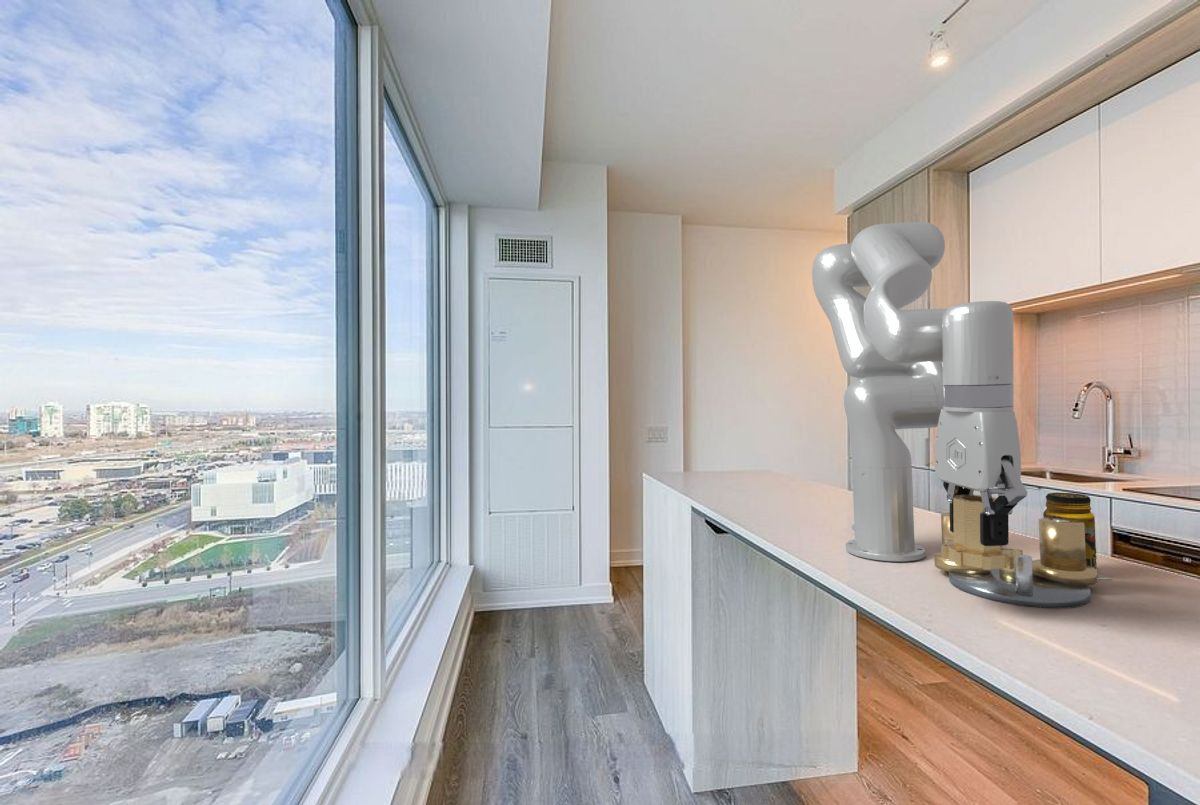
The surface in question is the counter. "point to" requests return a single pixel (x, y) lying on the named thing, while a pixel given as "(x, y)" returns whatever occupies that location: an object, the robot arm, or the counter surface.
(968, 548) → the gold hollow octagonal piece
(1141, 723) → the counter surface
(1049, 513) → the condiment
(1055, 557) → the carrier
